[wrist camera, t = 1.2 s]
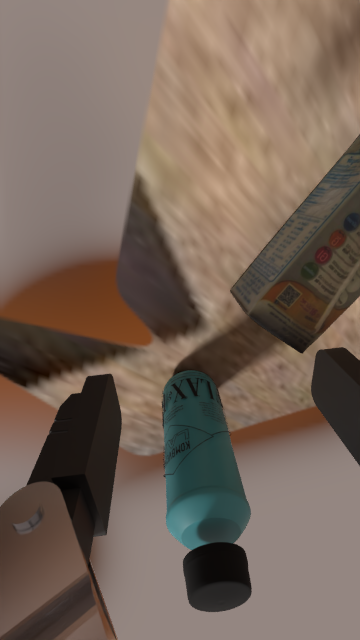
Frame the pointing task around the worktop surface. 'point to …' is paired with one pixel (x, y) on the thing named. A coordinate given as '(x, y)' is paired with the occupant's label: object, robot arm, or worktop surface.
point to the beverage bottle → (204, 493)
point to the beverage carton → (309, 261)
